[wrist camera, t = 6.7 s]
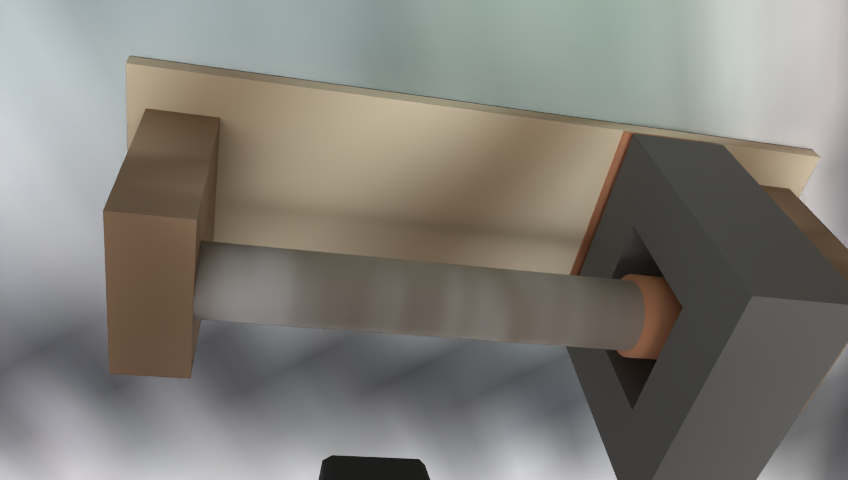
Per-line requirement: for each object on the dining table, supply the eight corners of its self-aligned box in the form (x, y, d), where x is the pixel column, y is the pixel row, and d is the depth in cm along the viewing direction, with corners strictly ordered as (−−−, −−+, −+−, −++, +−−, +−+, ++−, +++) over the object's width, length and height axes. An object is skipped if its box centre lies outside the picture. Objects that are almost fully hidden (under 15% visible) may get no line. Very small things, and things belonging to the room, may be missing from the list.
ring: (723, 145, 19) (870, 306, 14) (637, 334, 22) (730, 519, 17) (634, 133, 19) (752, 296, 14) (559, 328, 22) (631, 516, 17)
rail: (812, 149, 20) (929, 256, 16) (720, 323, 24) (799, 446, 20) (130, 56, 17) (73, 163, 13) (132, 274, 20) (89, 412, 16)
